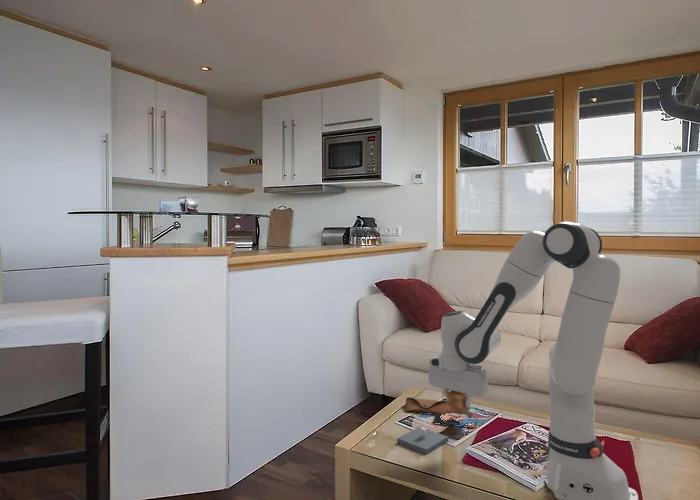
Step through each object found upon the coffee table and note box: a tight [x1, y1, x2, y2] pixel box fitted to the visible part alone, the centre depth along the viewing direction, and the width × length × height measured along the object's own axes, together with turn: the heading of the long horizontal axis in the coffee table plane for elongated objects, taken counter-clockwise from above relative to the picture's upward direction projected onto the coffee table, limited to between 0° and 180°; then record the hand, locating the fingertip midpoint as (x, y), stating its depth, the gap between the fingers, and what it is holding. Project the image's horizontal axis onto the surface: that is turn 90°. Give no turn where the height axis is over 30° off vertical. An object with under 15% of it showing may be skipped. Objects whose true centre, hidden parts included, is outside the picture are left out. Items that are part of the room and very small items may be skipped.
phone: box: [432, 414, 478, 426], centre depth 173 cm, size 8×1×15 cm
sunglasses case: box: [403, 397, 448, 415], centre depth 185 cm, size 18×7×7 cm, turn 72°
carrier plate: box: [396, 426, 449, 455], centre depth 158 cm, size 12×12×4 cm
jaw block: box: [447, 390, 471, 416], centre depth 152 cm, size 5×5×6 cm
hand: (458, 404), depth 152 cm, fingers closed on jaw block, 5 cm apart
